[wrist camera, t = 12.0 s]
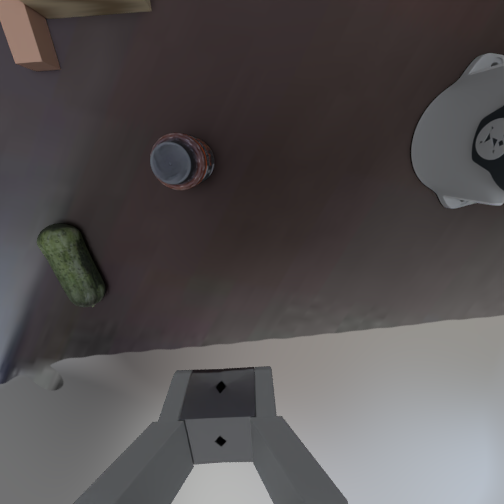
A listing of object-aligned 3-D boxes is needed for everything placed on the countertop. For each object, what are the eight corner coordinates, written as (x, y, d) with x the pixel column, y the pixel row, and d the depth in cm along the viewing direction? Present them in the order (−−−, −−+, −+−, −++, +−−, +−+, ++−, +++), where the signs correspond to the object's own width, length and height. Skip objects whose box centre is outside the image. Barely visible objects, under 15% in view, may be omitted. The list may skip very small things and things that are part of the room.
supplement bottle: (224, 162, 35) (214, 167, 25) (194, 191, 37) (173, 207, 26) (192, 126, 33) (167, 115, 23) (163, 158, 35) (126, 162, 24)
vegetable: (47, 224, 38) (19, 234, 34) (79, 216, 38) (55, 226, 33) (88, 300, 43) (69, 319, 39) (117, 295, 43) (101, 312, 38)
